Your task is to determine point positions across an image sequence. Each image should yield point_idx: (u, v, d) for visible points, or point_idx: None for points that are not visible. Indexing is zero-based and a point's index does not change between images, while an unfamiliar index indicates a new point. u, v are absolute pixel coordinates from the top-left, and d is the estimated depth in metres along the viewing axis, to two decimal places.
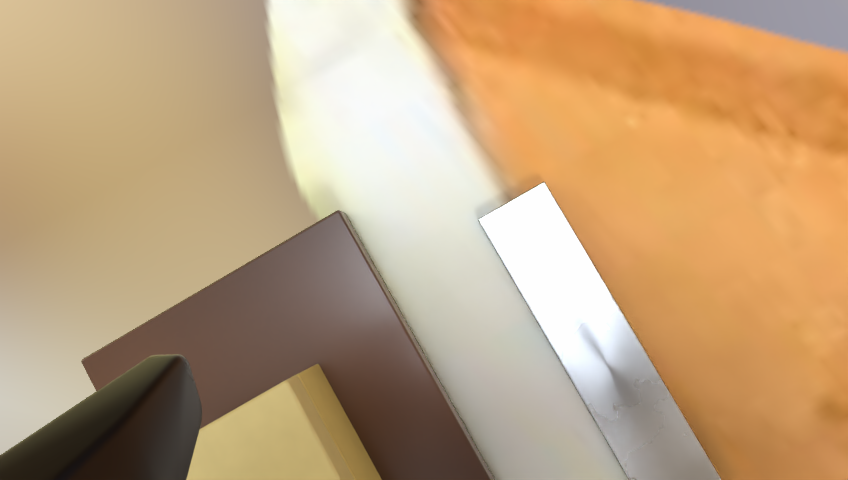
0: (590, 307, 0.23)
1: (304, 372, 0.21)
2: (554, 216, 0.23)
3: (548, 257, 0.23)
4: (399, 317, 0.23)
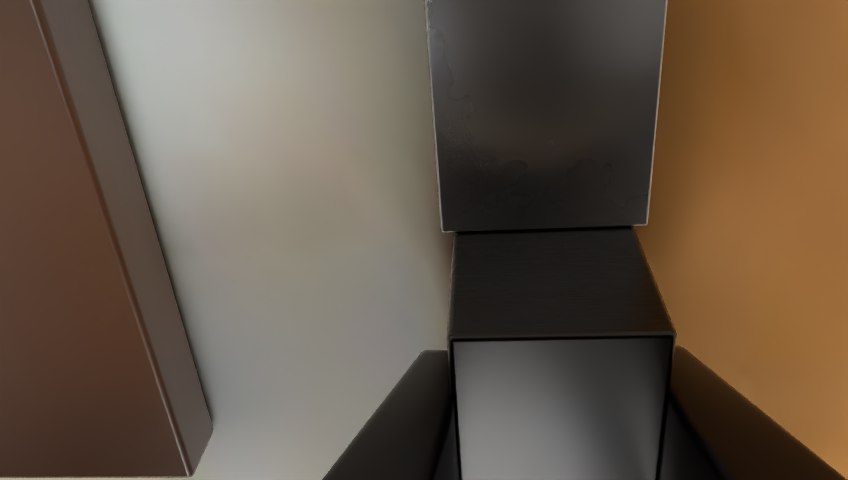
0: None
1: None
2: None
3: None
4: None
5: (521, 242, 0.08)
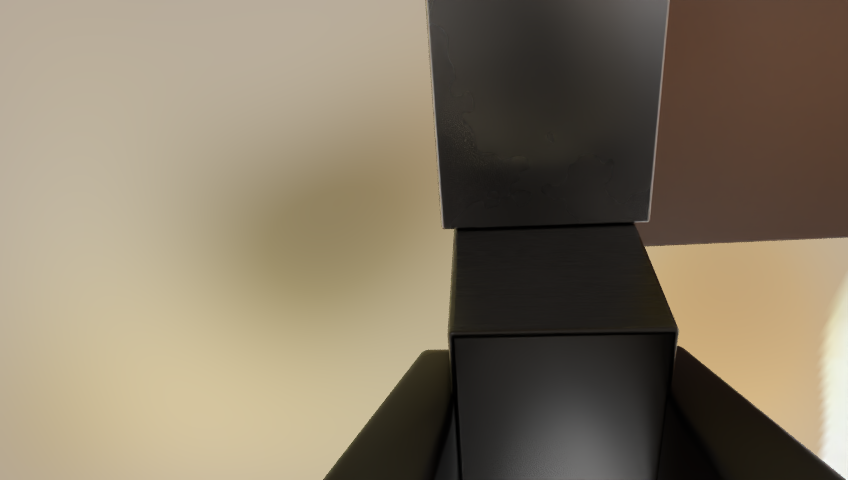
0: None
1: None
2: None
3: None
4: None
5: (521, 239, 0.08)
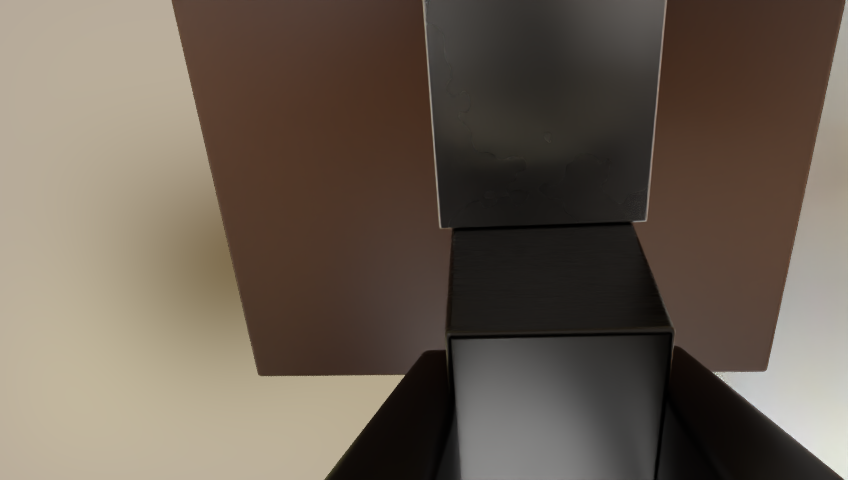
0: None
1: None
2: None
3: None
4: None
5: (518, 238, 0.08)
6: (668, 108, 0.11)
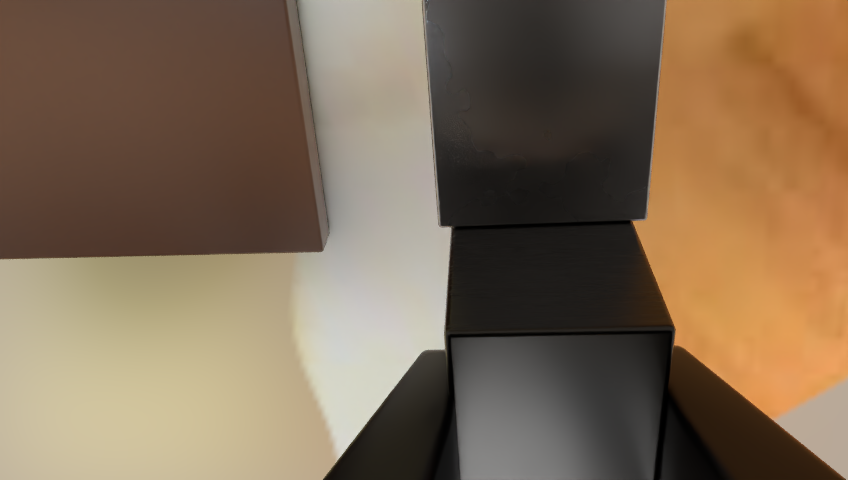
0: None
1: None
2: None
3: None
4: None
5: (519, 237, 0.08)
6: (192, 53, 0.16)
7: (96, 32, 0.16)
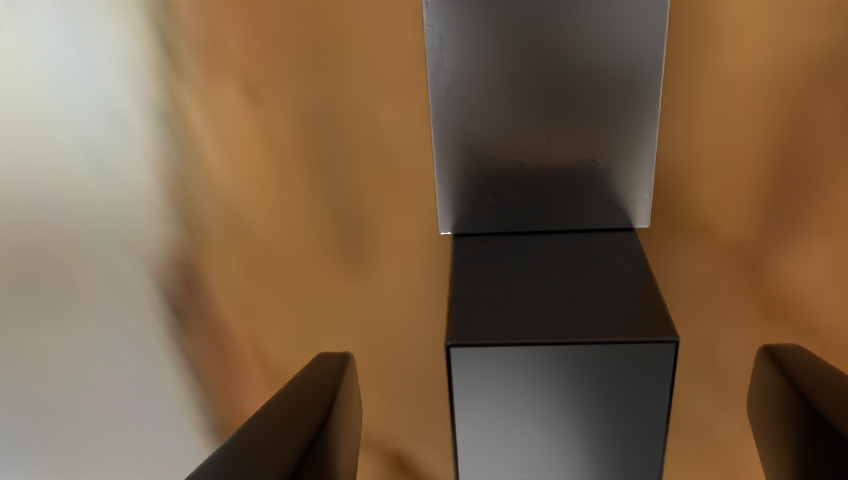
0: None
1: None
2: None
3: None
4: None
5: (520, 244, 0.08)
6: None
7: None
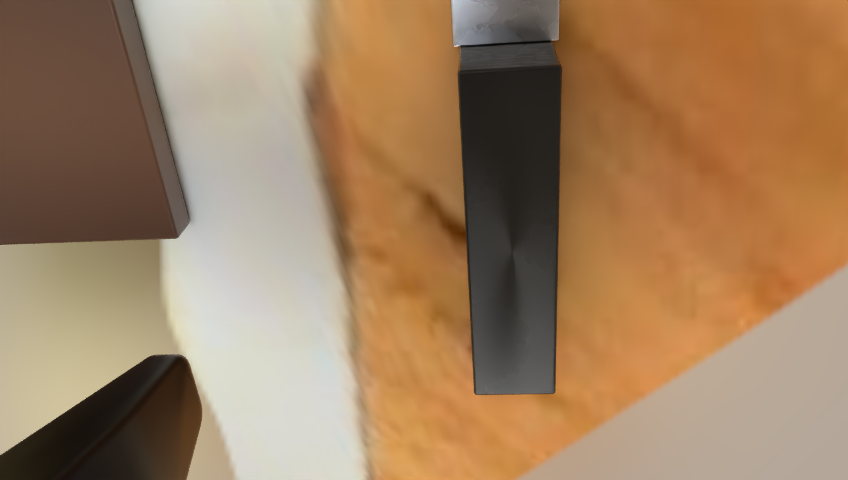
0: None
1: None
2: None
3: None
4: None
5: (494, 47, 0.17)
6: (28, 46, 0.17)
7: None
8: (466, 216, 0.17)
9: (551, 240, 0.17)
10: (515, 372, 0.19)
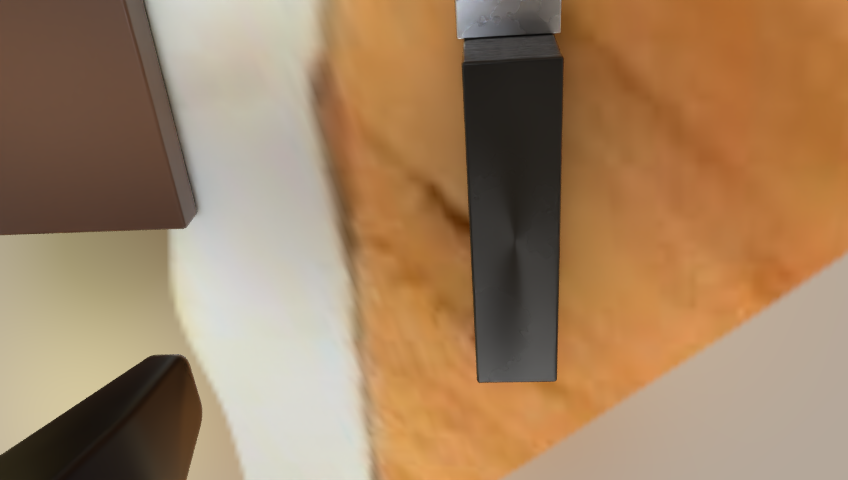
0: None
1: None
2: None
3: None
4: None
5: (496, 40, 0.17)
6: (40, 38, 0.17)
7: None
8: (470, 205, 0.17)
9: (553, 229, 0.17)
10: (517, 360, 0.19)
